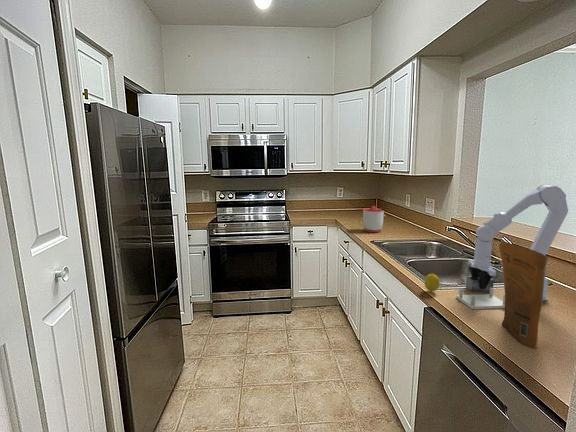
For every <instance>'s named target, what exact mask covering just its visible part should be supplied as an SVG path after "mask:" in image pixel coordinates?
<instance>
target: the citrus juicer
mask: <svg viewBox="0 0 576 432" xmlns="http://www.w3.org/2000/svg"><path fill="white" fill-rule="evenodd" d="M362 211H363V213H362V224H363V225H362V226H363V229H364V232H366V233H378V232H379V233H380V232H381V231H382V229H383V226H384V225H383V224H384V217H386V216H387V215H386V214H385V209H384V210H383V209H382V208H377V207H376V205H372V206H371V207H367V208H363V209H362Z"/></svg>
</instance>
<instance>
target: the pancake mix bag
mask: <svg viewBox="0 0 576 432" xmlns="http://www.w3.org/2000/svg"><path fill="white" fill-rule="evenodd" d="M498 250H499V254H500V258H501V259H500V260H501V269H502V276H503V287H504V295H505V308H504V317H503V320H502V322H501V327H502V328H503V329H504V330H506V331H507V332H508V333H509V334H510V335H511V336H512V337H514V339H516V340H517V342H518V343H520V344H522V345H524V346H526V347H530V348H533V349H536V350H537V349H538V347H537V346H538V340H539V339H538V337H539V336H538V335H539V333H538V332H539V322H540V317H541V311H542V305H543V301H544V300H543V290H544V279H545V277H546V272H547V271H546V269H547V263H548V260H549V257H548V256H547V255H543V254H541V253H539V252H536V251H534V250H531V249H530V248H528V247H523V246H520V245H516V244H513V243H510V242H507V241H506V240H502V241H501V242H499V244H498Z"/></svg>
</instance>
